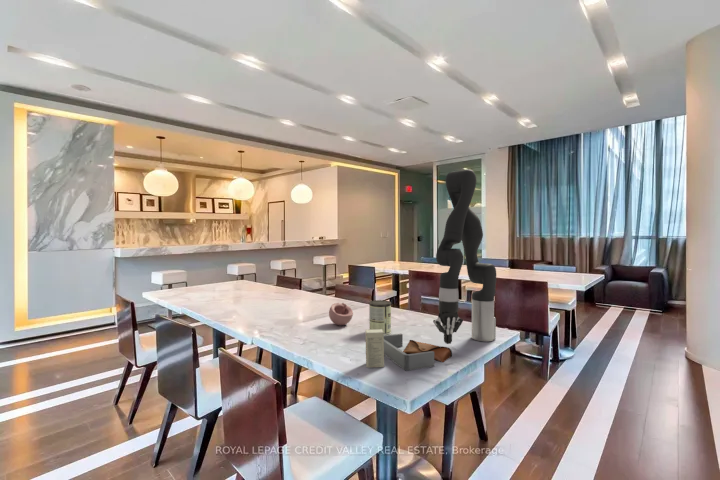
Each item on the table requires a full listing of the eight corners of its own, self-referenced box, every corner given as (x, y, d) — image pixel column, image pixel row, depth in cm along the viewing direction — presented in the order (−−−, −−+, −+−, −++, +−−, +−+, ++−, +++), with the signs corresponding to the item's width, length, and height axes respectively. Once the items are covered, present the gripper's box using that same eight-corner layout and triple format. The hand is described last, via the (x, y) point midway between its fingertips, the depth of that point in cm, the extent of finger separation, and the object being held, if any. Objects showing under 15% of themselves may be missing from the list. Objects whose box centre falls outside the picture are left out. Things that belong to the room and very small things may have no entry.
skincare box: (383, 363, 125) (383, 328, 125) (384, 367, 121) (384, 332, 121) (365, 363, 125) (365, 328, 125) (365, 367, 121) (365, 332, 121)
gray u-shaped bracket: (401, 345, 145) (401, 333, 145) (434, 366, 122) (434, 352, 122) (376, 348, 141) (376, 336, 141) (405, 370, 118) (405, 356, 118)
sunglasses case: (399, 352, 136) (403, 335, 139) (406, 357, 141) (410, 341, 144) (444, 362, 126) (447, 344, 129) (450, 367, 131) (453, 349, 134)
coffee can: (369, 329, 170) (370, 299, 170) (391, 329, 169) (391, 300, 169) (368, 335, 160) (368, 304, 160) (391, 335, 159) (391, 304, 159)
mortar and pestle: (339, 329, 169) (339, 305, 169) (324, 324, 178) (324, 302, 178) (357, 325, 177) (357, 302, 177) (342, 320, 186) (342, 299, 186)
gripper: (456, 297, 144) (455, 339, 145) (429, 298, 140) (428, 342, 140) (468, 300, 137) (467, 344, 138) (439, 301, 133) (438, 347, 133)
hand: (447, 343), depth 139 cm, fingers closed
